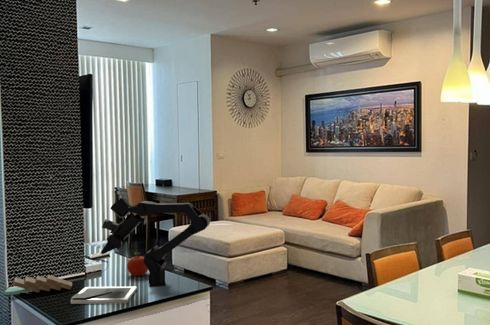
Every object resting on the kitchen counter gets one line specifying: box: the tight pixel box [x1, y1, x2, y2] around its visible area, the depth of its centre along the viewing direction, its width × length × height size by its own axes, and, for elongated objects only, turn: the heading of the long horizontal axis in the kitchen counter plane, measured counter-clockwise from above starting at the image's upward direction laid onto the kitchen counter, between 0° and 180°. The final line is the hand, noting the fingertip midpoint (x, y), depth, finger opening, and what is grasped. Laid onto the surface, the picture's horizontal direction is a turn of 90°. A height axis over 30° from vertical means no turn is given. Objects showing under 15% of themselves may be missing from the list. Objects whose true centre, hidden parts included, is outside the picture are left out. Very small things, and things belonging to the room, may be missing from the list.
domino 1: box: [4, 286, 34, 296], centre depth 187 cm, size 2×5×10 cm
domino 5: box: [46, 274, 73, 290], centre depth 191 cm, size 2×5×10 cm
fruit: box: [126, 251, 148, 277], centre depth 210 cm, size 10×10×10 cm
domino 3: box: [23, 276, 52, 292], centre depth 188 cm, size 2×5×10 cm
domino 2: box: [12, 277, 41, 294], centre depth 186 cm, size 2×5×10 cm
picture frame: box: [70, 286, 138, 305], centre depth 181 cm, size 16×3×21 cm
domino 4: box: [35, 275, 62, 291], centre depth 189 cm, size 2×5×10 cm
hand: (101, 253), depth 194 cm, fingers closed
